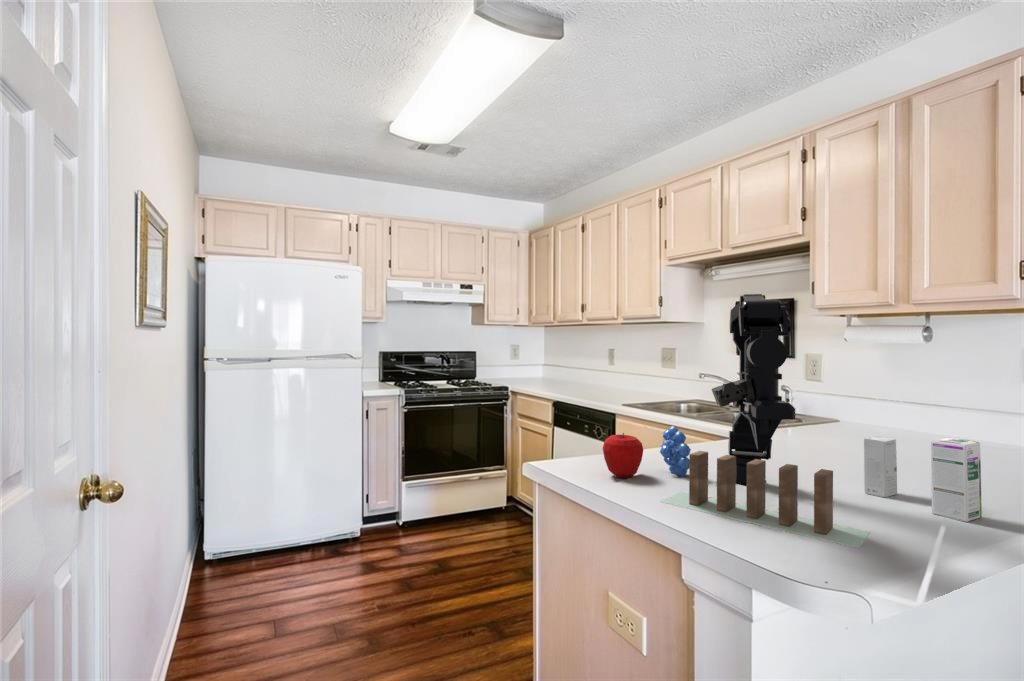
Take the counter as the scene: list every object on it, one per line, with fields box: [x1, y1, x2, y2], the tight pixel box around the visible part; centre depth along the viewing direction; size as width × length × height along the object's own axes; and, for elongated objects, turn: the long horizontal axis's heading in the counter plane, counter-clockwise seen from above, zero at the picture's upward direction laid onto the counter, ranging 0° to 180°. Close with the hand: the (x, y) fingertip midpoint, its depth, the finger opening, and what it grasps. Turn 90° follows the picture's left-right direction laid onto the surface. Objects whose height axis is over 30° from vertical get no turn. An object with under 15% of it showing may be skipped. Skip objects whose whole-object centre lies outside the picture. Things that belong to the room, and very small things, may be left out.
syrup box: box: [930, 437, 983, 523], centre depth 99 cm, size 6×6×14 cm
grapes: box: [659, 425, 692, 477], centre depth 128 cm, size 12×7×12 cm, turn 11°
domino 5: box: [813, 468, 834, 535], centre depth 89 cm, size 2×5×10 cm, turn 136°
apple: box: [602, 432, 644, 479], centre depth 126 cm, size 10×10×11 cm
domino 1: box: [688, 450, 709, 506], centre depth 104 cm, size 2×5×10 cm, turn 137°
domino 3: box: [746, 459, 767, 520], centre depth 97 cm, size 2×5×10 cm, turn 137°
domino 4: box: [778, 463, 799, 527], centre depth 93 cm, size 2×5×10 cm, turn 137°
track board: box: [659, 491, 871, 549], centre depth 97 cm, size 10×34×1 cm, turn 47°
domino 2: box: [716, 454, 737, 513], centre depth 100 cm, size 2×5×10 cm, turn 137°
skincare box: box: [863, 436, 898, 498], centre depth 114 cm, size 6×4×12 cm
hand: (760, 451), depth 96 cm, fingers closed
